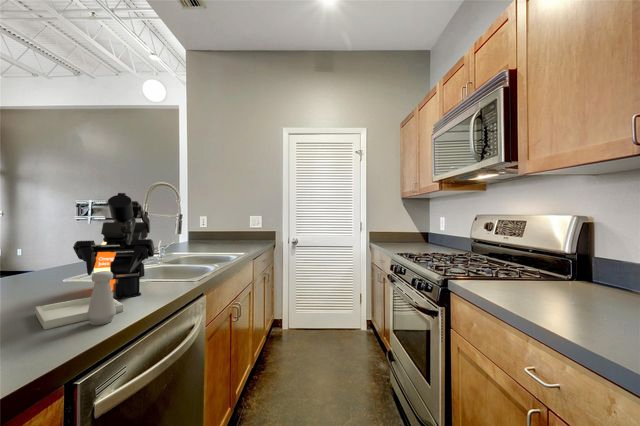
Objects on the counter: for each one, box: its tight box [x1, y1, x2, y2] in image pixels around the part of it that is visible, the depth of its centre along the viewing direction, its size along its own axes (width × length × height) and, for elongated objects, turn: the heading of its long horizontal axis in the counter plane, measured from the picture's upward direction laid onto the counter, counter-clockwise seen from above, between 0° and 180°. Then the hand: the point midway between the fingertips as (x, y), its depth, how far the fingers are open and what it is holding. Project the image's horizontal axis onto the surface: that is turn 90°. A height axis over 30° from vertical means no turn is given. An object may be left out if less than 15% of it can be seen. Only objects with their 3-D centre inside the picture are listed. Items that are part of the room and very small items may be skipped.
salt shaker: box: [87, 271, 117, 326], centre depth 71 cm, size 6×6×13 cm
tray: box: [35, 296, 124, 330], centre depth 77 cm, size 16×16×2 cm
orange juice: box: [93, 240, 116, 290], centre depth 103 cm, size 8×9×20 cm
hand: (109, 273), depth 75 cm, fingers open, 9 cm apart
